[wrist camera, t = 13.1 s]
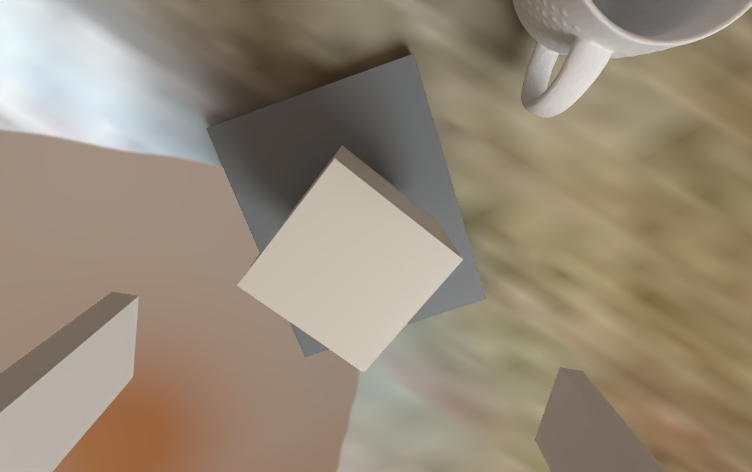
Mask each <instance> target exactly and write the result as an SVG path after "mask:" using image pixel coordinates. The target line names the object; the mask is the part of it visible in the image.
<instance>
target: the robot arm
mask: <svg viewBox="0 0 752 472" xmlns="http://www.w3.org/2000/svg"><path fill="white" fill-rule="evenodd" d="M138 299H139V296H135V295H129V294H123V293H117V292H111V293H110V294H108V295H107V296H106V297H104V298H103V299H101V300H100V301H99V302H97V303H96V304H95V305H93V306H92V307H91V308H89V309H88V310H86V311H85V312H84V313H82V314H81V315H80V316H78V317H77V318H76V319H74V320H73V321H72V322H70V323H69V324H67V325H66V326H65V327H63V328H62V329H61V330H60V331H58V332H57V333H55V334H54V335H53V336H51V337H50V338H49V339H47V340H46V341H44V342H43V343H42V344H40V345H39V346H37V347H36V348H35V349H33V350H32V351H31V352H29V353H28V354H27V355H25V356H24V357H23V358H21V359H20V360H18V361H17V362H16V363H14V364H13V365H12V366H10V367H9V368H8V369H6V370H5V371H3V372H2V373H0V472H52V471H53V470H54V469H55V468H56V467H57V465H58V464H59V463H60V462H61V461H62V460H63V458H64V457H65V456H66V455H67V454H68V453H69V451H70V450H71V449H72V448H73V447H74V445H75V444H76V443H77V442H78V441H79V440H80V438H81V437H82V436H83V435H84V434H85V433H86V431H87V430H88V429H89V428H90V427H91V426H92V424H93V423H94V422H95V421H96V420H97V419H98V417H99V416H100V415H101V414H102V413H103V412H104V410H105V409H106V408H107V407H108V406H109V404H110V403H111V402H112V401H113V400H114V399H115V397H116V396H117V395H118V394H119V393H120V392H121V390H122V389H123V388H124V387H125V386H126V385H127V383H128V382H129V381H130V380H131V379H132V377H133V369H134V354H135V341H136V340H135V339H136V326H137V313H138ZM535 441H536V442H537V444H538V446H539V448H540V450H541V452H542V454H543V456H544V458H545V460H546V462H547V464H548V466H549V468H550V469H551V471H552V472H666V471H665V470H664V469H663V467H662V466H661V465H660V464H659V463H658V461H657V460H656V459H655V458H654V457H653V455H652V454H651V453H650V452H649V451H648V449H647V448H646V447H645V446H644V444H643V443H642V442H641V441H640V440H639V438H638V437H637V436H636V435H635V434H634V432H633V431H632V430H631V429H630V428H629V426H628V425H627V424H626V423H625V422H624V420H623V419H622V418H621V417H620V416H619V414H618V413H617V412H616V411H615V410H614V408H613V407H612V406H611V405H610V404H609V402H608V401H607V400H606V399H605V398H604V396H603V395H602V394H601V393H600V392H599V390H598V389H597V388H596V387H595V386H594V384H593V383H592V382H591V381H590V380H589V378H588V377H587V376H586V375H585V374H584V372H583V371H578V370H572V369H566V368H561V367H560V368H559V371H558V374H557V377H556V380H555V383H554V386H553V388H552V391H551V394H550V397H549V400H548V403H547V406H546V409H545V412H544V415H543V417H542V420H541V423H540V426H539V429H538V432H537V435H536V438H535Z"/></svg>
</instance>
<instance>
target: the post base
mask: <svg viewBox="0 0 752 472" xmlns="http://www.w3.org/2000/svg"><path fill="white" fill-rule="evenodd" d="M206 129H207V131H208V133H209V136H210V138H211V140H212V142H213V145H214V147H215V149H216V152H217V154H218V156H219V159H220V161H221V163H222V166H223V168H224V170H225V173H226V175H227V177H228V179H229V182H230V184H231V187H232V189H233V191H234V193H235V196H236V198H237V200H238V203H239V205H240V208H241V210H242V212H243V215H244V217H245V219H246V221H247V224H248V226H249V228H250V231H251V233H252V235H253V238H254V240H255V242H256V245H257V247H258V249H259V252H260V253H261V251H262V250H263V248H264V247H265V245H266V244H267V243H268V241H269V240H270V239H271V237H272V236H273V235H274V233H275V232H276V231H277V230H278V228H279V227H280V226H281V224H282V223H283V222H284V220H285V219H286V218H287V216H288V215H289V214H290V213H291V211H292V210H293V209H294V207H295V206H296V205H297V203H298V202H299V201H300V200H301V198H302V197H303V196H304V194H305V193H306V192H307V190H308V189H309V188H310V187H311V185H312V184H313V183H314V181H315V180H316V179H317V177H318V176H319V175H320V173H321V172H322V171H323V170H324V168H325V167H326V166H327V164H328V163H329V162H330V160H331V159H332V158H333V157H334V155H335V154H336V153H337V151H338V150H339V149H340V147H341V146H342V145H343V146H344V147H345V148H346V149H348V150H349V151H350V152H351V153H353V154H354V155H355V156H356V157H358V158H359V159H360V160H361V161H363V162H364V163H365V164H366V165H368V166H369V167H370V168H371V169H373V170H374V171H375V172H376V173H378V174H379V175H380V176H381V177H383V178H384V179H385V180H386V181H388V182H389V183H390V184H391V185H393V186H394V187H395V188H396V189H398V190H399V191H400V192H402V193H403V194H404V195H405V196H407V197H408V198H409V199H410V200H412V201H413V202H414V203H415V204H417V205H418V206H419V207H420V208H422V209H423V210H424V211H425V212H427V213H428V214H429V215H430V216H432V217H433V218H434V219H435V220H437V221H438V222H439V224H440V225H441V227H442V228H443V230H444V231H445V233H446V234H447V236H448V237H449V239H450V240H451V242H452V243H453V245H454V246H455V248H456V249H457V251H458V252H459V254H460V255H461V257H462V258H463V260H462V262H461V263H460V264H459V265H458V266H457V267H456V268H455V270H454V271H453V272H452V273H451V274H450V275H449V276H448V277H447V279H446V280H445V281H444V282H443V283H442V284H441V285H440V287H439V288H438V289H437V290H436V291H435V292H434V293H433V294H432V296H431V297H430V298H429V299H428V300H427V301H426V302H425V303H424V305H423V306H422V307H421V308H420V309H419V310H418V311H417V313H416V314H415V315H414V316H413V317H412V318H411V319H410V320H409V322H408V323H407V324H409V323H412V322H415V321H418V320H422V319H425V318H428V317H431V316H434V315H437V314H440V313H443V312H446V311H449V310H453V309H456V308H459V307H462V306H465V305H468V304H471V303H474V302H477V301H481V300H484V299H486V296H485V293H484V290H483V286H482V283H481V280H480V276H479V273H478V270H477V266H476V263H475V259H474V256H473V253H472V249H471V246H470V243H469V239H468V236H467V233H466V229H465V226H464V222H463V219H462V216H461V212H460V209H459V206H458V202H457V199H456V195H455V192H454V189H453V185H452V182H451V179H450V175H449V172H448V169H447V165H446V162H445V158H444V155H443V152H442V148H441V145H440V142H439V138H438V135H437V132H436V128H435V125H434V121H433V118H432V115H431V111H430V108H429V105H428V101H427V98H426V94H425V91H424V88H423V84H422V81H421V78H420V74H419V71H418V68H417V64H416V61H415V57H414V54H411V55H408V56H405V57H403V58H400V59H397V60H394V61H391V62H389V63H386V64H383V65H380V66H377V67H375V68H372V69H369V70H366V71H364V72H361V73H358V74H355V75H352V76H350V77H347V78H344V79H341V80H339V81H336V82H333V83H330V84H327V85H325V86H322V87H319V88H316V89H313V90H311V91H308V92H305V93H302V94H300V95H297V96H294V97H291V98H288V99H286V100H283V101H280V102H277V103H274V104H272V105H269V106H266V107H263V108H261V109H258V110H255V111H252V112H249V113H247V114H244V115H241V116H238V117H235V118H233V119H230V120H227V121H224V122H222V123H219V124H216V125H213V126H210V127H208V128H206ZM290 324H291V326H292V328H293V331H294V333H295V335H296V337H297V340H298V342H299V345H300V347H301V349H302V352H303V354H304V356H305V357H307V356H310V355H313V354H316V353H319V352H322V351H325V350H328V349H329V348H327V347H326V346H324V345H323V344H321V343H320V342H318V341H317V340H315V339H314V338H313V337H311V336H310V335H308V334H307V333H305V332H304V331H302V330H301V329H300V328H298V327H297V326H295V325H294V324H292V323H291V322H290Z"/></svg>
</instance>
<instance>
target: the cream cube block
mask: <svg viewBox="0 0 752 472" xmlns="http://www.w3.org/2000/svg"><path fill="white" fill-rule="evenodd" d="M462 260H463V258H462V257H461V255H460V254H459V252H458V251H457V249H456V248H455V246H454V245H453V243H452V242H451V240H450V239H449V237H448V236H447V234H446V233H445V231H444V230H443V228H442V227H441V225H440V224H439V222H438V221H437V220H435V219H434V218H433V217H432V216H430V215H429V214H428V213H427V212H425V211H424V210H423V209H422V208H420V207H419V206H418V205H417V204H415V203H414V202H413V201H412V200H410V199H409V198H408V197H407V196H405V195H404V194H403V193H402V192H400V191H399V190H398V189H396V188H395V187H394V186H393V185H391V184H390V183H389V182H388V181H386V180H385V179H384V178H383V177H381V176H380V175H379V174H378V173H376V172H375V171H374V170H373V169H371V168H370V167H369V166H368V165H366V164H365V163H364V162H363V161H361V160H360V159H359V158H358V157H356V156H355V155H354V154H353V153H351V152H350V151H349V150H348V149H346V148H345V147H344V146H343V145H342V146H341V147H340V149H339V150H338V151H337V153H336V154H335V155H334V157H333V158H332V159H331V160H330V162H329V163H328V164H327V166H326V167H325V168H324V170H323V171H322V172H321V173H320V175H319V176H318V177H317V179H316V180H315V181H314V183H313V184H312V185H311V187H310V188H309V189H308V190H307V192H306V193H305V194H304V196H303V197H302V198H301V200H300V201H299V202H298V203H297V205H296V206H295V207H294V209H293V210H292V211H291V213H290V214H289V215H288V216H287V218H286V219H285V220H284V222H283V223H282V224H281V226H280V227H279V228H278V230H277V231H276V232H275V233H274V235H273V236H272V237H271V239H270V240H269V241H268V243H267V244H266V245H265V247H264V248H263V250H262V251H261V253H260V254H259V255H258V257H257V258H256V260H255V261H254V262H253V264H252V265H251V267H250V268H249V270H248V271H247V272H246V274H245V275H244V277H243V278H242V279H241V281H240V282H239V284H238V285H237V286H239V287H240V288H241V289H243V290H244V291H246V292H247V293H249V294H250V295H252V296H253V297H255V298H256V299H257V300H259V301H260V302H262V303H263V304H265V305H266V306H268V307H269V308H270V309H272V310H274V311H275V312H276V313H278V314H279V315H281V316H282V317H284V318H285V319H286V320H288V321H289V322H291V323H292V324H294V325H295V326H297V327H298V328H300V329H301V330H302V331H304V332H305V333H307V334H308V335H310V336H311V337H313V338H314V339H315V340H317V341H318V342H320V343H321V344H323V345H324V346H326V347H327V348H329V349H330V350H332V351H333V352H334V353H336V354H337V355H339V356H340V357H342V358H343V359H345V360H346V361H347V362H349V363H351V364H352V365H353V366H355V367H356V368H358V369H359V370H361V371H362V372H363V373H364V371H365V370H366V369H367V368H368V367H369V366H370V365H371V363H372V362H373V361H374V360H375V359H376V358H377V357H378V356H379V354H380V353H381V352H382V351H383V350H384V349H385V348H386V347H387V345H388V344H389V343H390V342H391V341H392V340H393V339H394V337H395V336H396V335H397V334H398V333H399V332H400V331H401V330H402V328H403V327H404V326H405V325H406V324H407V323H408V322H409V320H410V319H411V318H412V317H413V316H414V315H415V314H416V313H417V311H418V310H419V309H420V308H421V307H422V306H423V305H424V303H425V302H426V301H427V300H428V299H429V298H430V297H431V296H432V294H433V293H434V292H435V291H436V290H437V289H438V288H439V287H440V285H441V284H442V283H443V282H444V281H445V280H446V279H447V277H448V276H449V275H450V274H451V273H452V272H453V271H454V270H455V268H456V267H457V266H458V265H459V264H460V263H461V262H462Z"/></svg>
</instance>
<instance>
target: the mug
mask: <svg viewBox="0 0 752 472" xmlns="http://www.w3.org/2000/svg"><path fill="white" fill-rule="evenodd" d="M512 1H513V4H514V8H515V10H516V14H517V16H518V18H519V20H520V21H521V24H522V25H523V26H524V28H525V30H526V31H527V32H528V33H529V34H530V35H531V36H532V37H533V39H535V40H536V41H537V42H536V45H535V47H534V50H533V53H532V56H531V59H530V62H529V64H528V67H527V71H526V74H525V78H524V82H523V87H522V93H521V100H522V104H523V106H524V107H525V109H526V110H528V111H529V112H530V113H532V114H534V115H536V116H539V117H545V118H547V117H553V116H556V115H558V114H560V113H562V112H563V111H565V110H566V109H567V108H569V107H570V106H571V105H572V104H574V103H575V102H576V101H577V100H578V99H579V97H580V96H581V95H582V94H583V93H584V92H585V91H586V90H587V89H588V88H589V86H590V85H591V84H592V83H593V82H594V81H595V79H596V78H597V77H598V75H599V74H600V73H601V71H602V70H603V68H604V67H605V65H606V64H607V62H608V60H609V58H622V57H627V56H636V55H639V54H648V53H651V52H654V51H662V50H665V49H668V48H672V47H676V46H680V45H684V44H688V43H691V42H694V41H697V40H700V39H703V38H705V37H708V36H710V35H712V34H714V33H716V32H718V31H720V30H721V29H723V28H725V27H726V26H728V25H729V24H731V23H732V22H734V21H735V20H736V19H737V18H739V17H740V16H741V15H742V14H744V13H745V12H746V11H747V10H748V9H749V8H750V7H751V6H752V0H512ZM559 54H564V55H567V57H566V60H565V62H564V64H563V66H562V68H561V70H560V72H559V73H558V75H557V77H556V79H555V80H554V81H553V82H552V84H551V85H550V86H549V87H548V88H547V85H548V81H549V77H550V74H551V71H552V69H553V66H554V64H555V62H556V60H557V57H558V55H559Z"/></svg>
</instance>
